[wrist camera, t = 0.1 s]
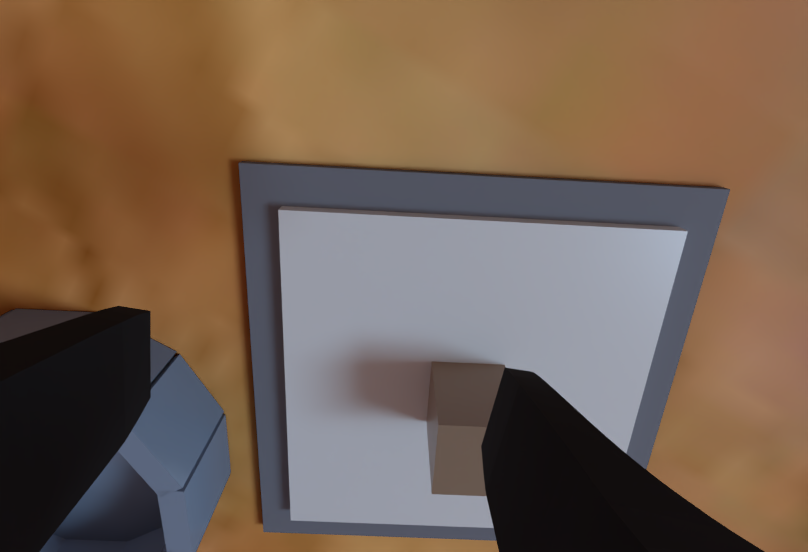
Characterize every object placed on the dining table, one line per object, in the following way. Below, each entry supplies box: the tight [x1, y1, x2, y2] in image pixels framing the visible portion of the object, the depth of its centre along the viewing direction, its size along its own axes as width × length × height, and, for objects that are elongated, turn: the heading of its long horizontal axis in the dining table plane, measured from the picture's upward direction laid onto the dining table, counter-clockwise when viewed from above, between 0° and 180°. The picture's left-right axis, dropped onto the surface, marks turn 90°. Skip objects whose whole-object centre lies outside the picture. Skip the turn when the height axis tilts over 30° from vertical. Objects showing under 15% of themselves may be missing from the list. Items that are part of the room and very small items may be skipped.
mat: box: [239, 161, 730, 540], centre depth 21 cm, size 18×18×1 cm
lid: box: [278, 206, 688, 528], centre depth 19 cm, size 15×15×5 cm
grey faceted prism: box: [0, 309, 231, 552], centre depth 21 cm, size 13×13×4 cm
